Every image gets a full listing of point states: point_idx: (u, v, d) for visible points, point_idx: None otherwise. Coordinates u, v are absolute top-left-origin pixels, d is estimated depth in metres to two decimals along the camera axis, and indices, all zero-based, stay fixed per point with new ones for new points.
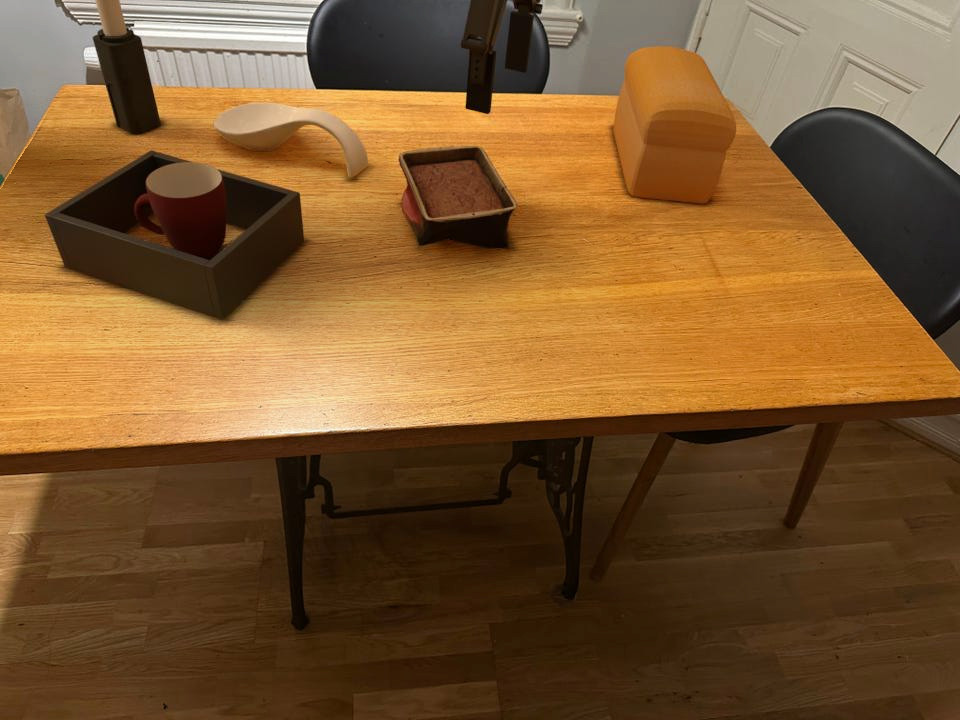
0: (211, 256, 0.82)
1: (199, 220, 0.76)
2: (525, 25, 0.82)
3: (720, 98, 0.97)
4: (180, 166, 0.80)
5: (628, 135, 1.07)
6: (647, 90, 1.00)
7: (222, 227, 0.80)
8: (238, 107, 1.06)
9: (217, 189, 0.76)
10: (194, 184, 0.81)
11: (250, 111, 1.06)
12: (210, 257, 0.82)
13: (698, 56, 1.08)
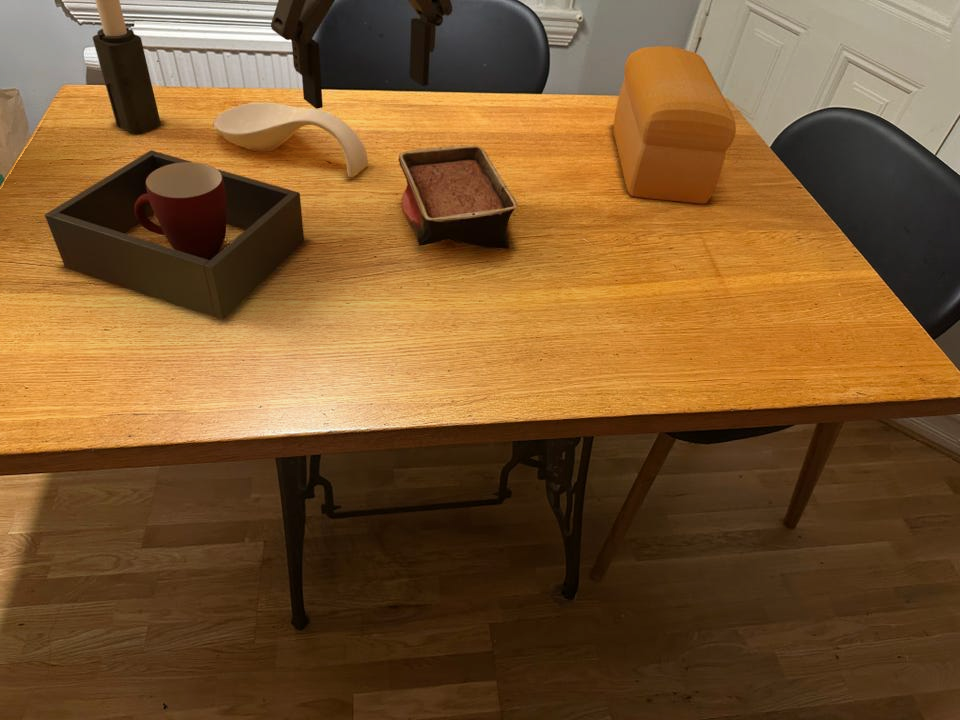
0: (211, 256, 0.82)
1: (199, 220, 0.76)
2: (421, 34, 0.76)
3: (720, 98, 0.97)
4: (180, 166, 0.80)
5: (628, 135, 1.07)
6: (646, 90, 1.00)
7: (222, 227, 0.80)
8: (238, 107, 1.06)
9: (217, 189, 0.76)
10: (194, 184, 0.81)
11: (250, 111, 1.06)
12: (210, 257, 0.82)
13: (698, 56, 1.08)
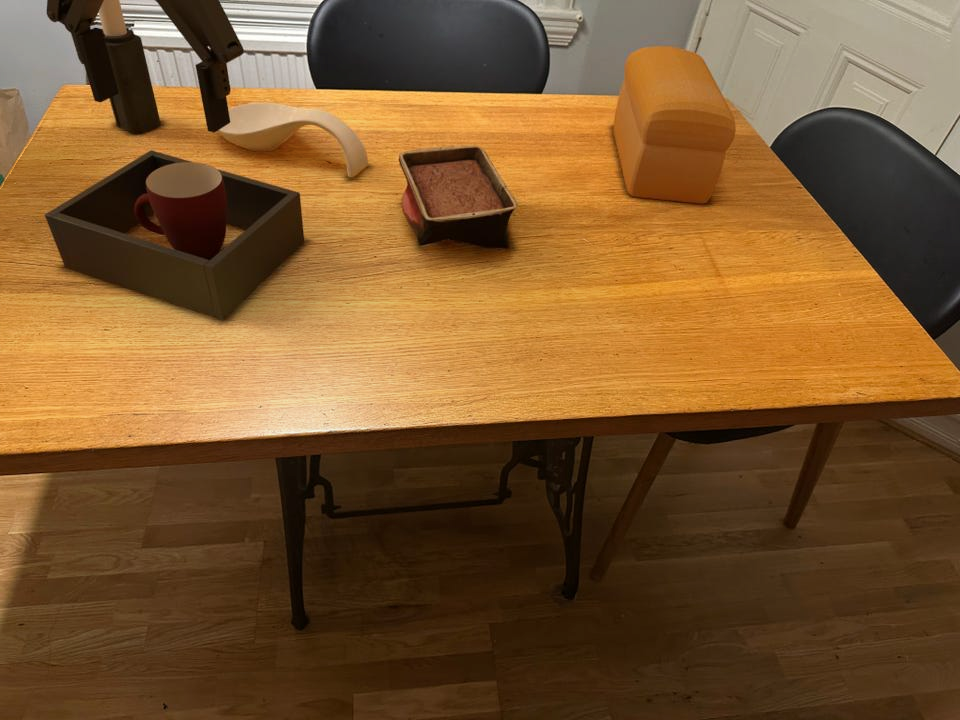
0: (211, 256, 0.82)
1: (199, 220, 0.76)
2: None
3: (719, 98, 0.97)
4: (180, 166, 0.80)
5: (628, 135, 1.07)
6: (646, 90, 1.00)
7: (222, 227, 0.80)
8: (238, 107, 1.06)
9: (217, 189, 0.76)
10: (194, 184, 0.81)
11: (250, 111, 1.06)
12: (210, 257, 0.82)
13: (698, 56, 1.08)
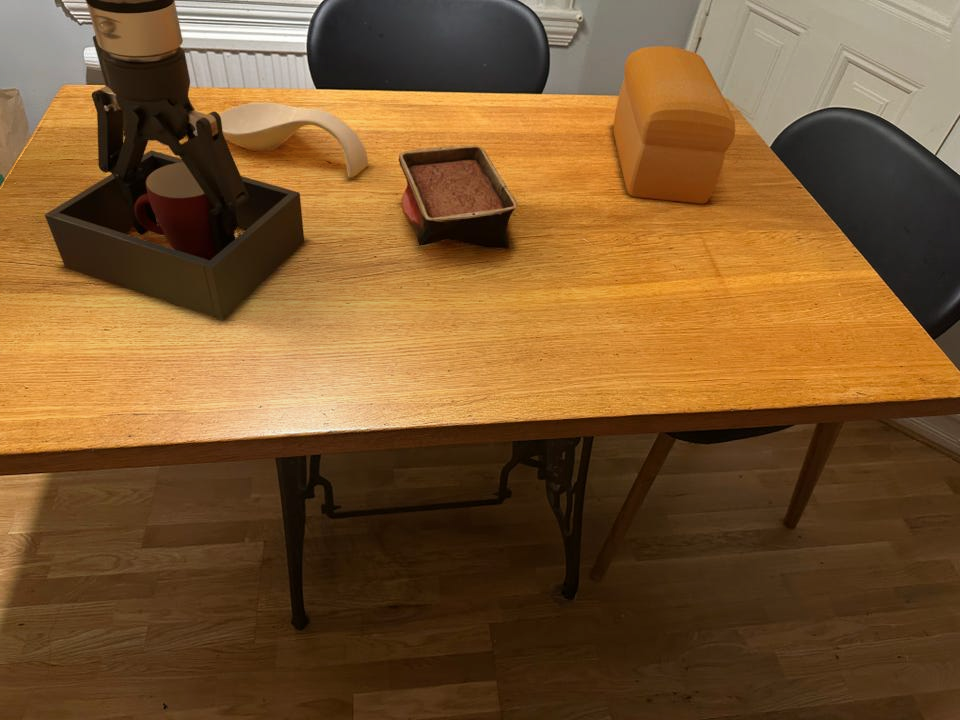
0: (211, 256, 0.82)
1: (199, 220, 0.76)
2: None
3: (719, 98, 0.97)
4: (180, 166, 0.80)
5: (627, 135, 1.07)
6: (646, 90, 1.00)
7: None
8: (238, 107, 1.06)
9: None
10: (194, 184, 0.81)
11: (250, 111, 1.06)
12: (210, 257, 0.82)
13: (698, 56, 1.08)
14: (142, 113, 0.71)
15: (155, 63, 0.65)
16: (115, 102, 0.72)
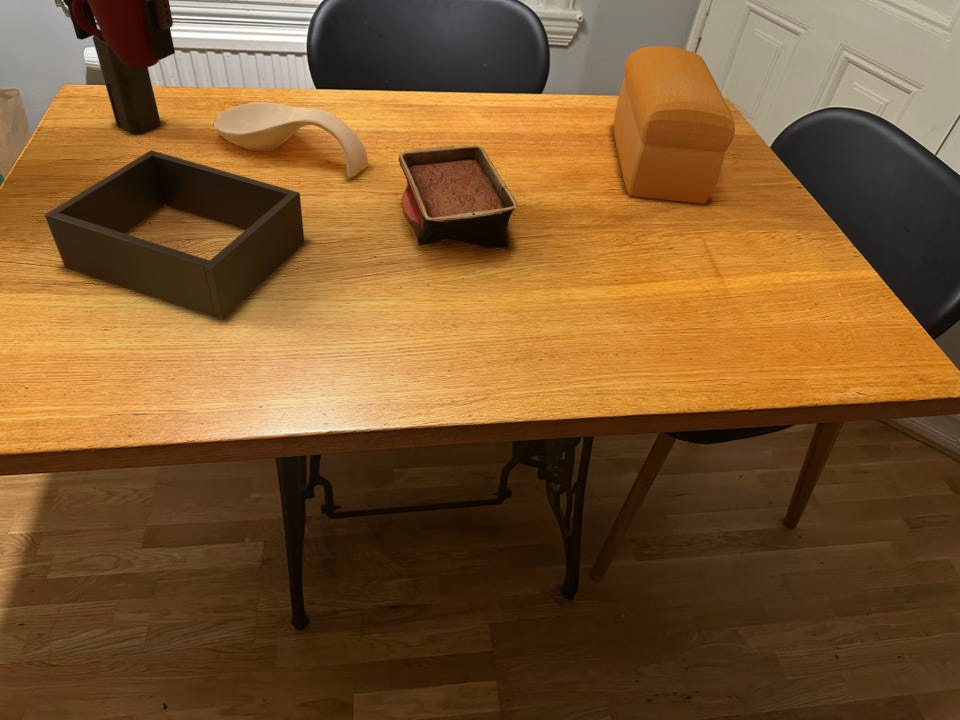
0: (149, 60, 0.83)
1: (133, 10, 0.78)
2: None
3: (719, 98, 0.97)
4: None
5: (627, 135, 1.07)
6: (645, 90, 1.00)
7: None
8: (238, 107, 1.06)
9: None
10: None
11: (250, 111, 1.06)
12: (148, 61, 0.83)
13: (698, 56, 1.08)
14: None
15: None
16: None
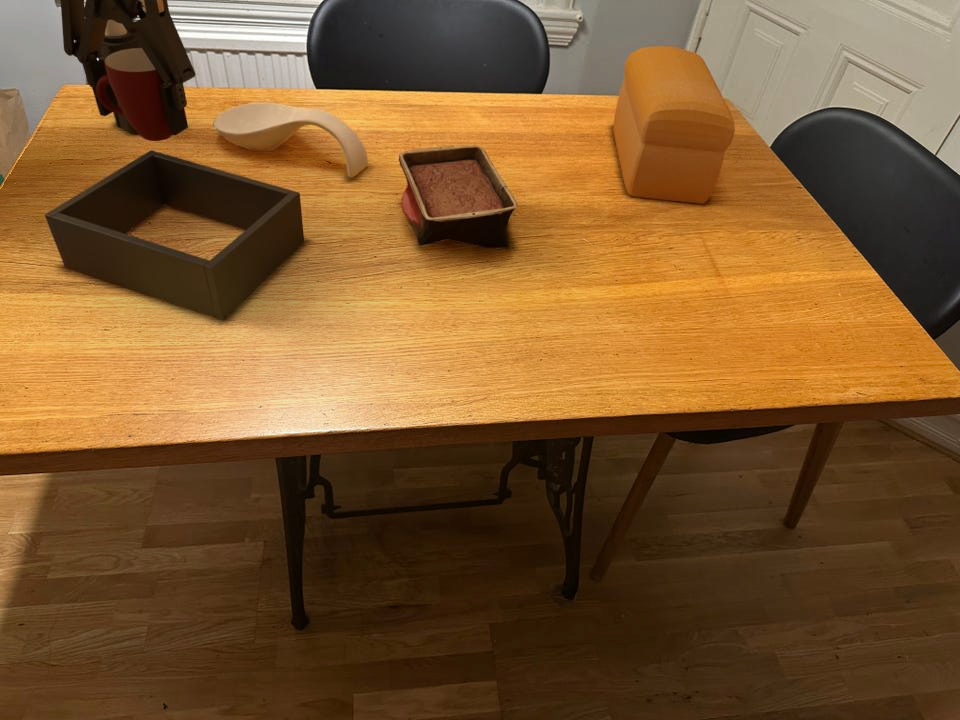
0: (165, 134, 0.92)
1: (152, 94, 0.87)
2: None
3: (719, 98, 0.97)
4: (137, 51, 0.90)
5: (627, 135, 1.07)
6: (645, 90, 1.00)
7: None
8: (238, 107, 1.06)
9: None
10: (150, 69, 0.92)
11: (250, 111, 1.06)
12: (164, 135, 0.92)
13: (698, 56, 1.08)
14: None
15: None
16: None
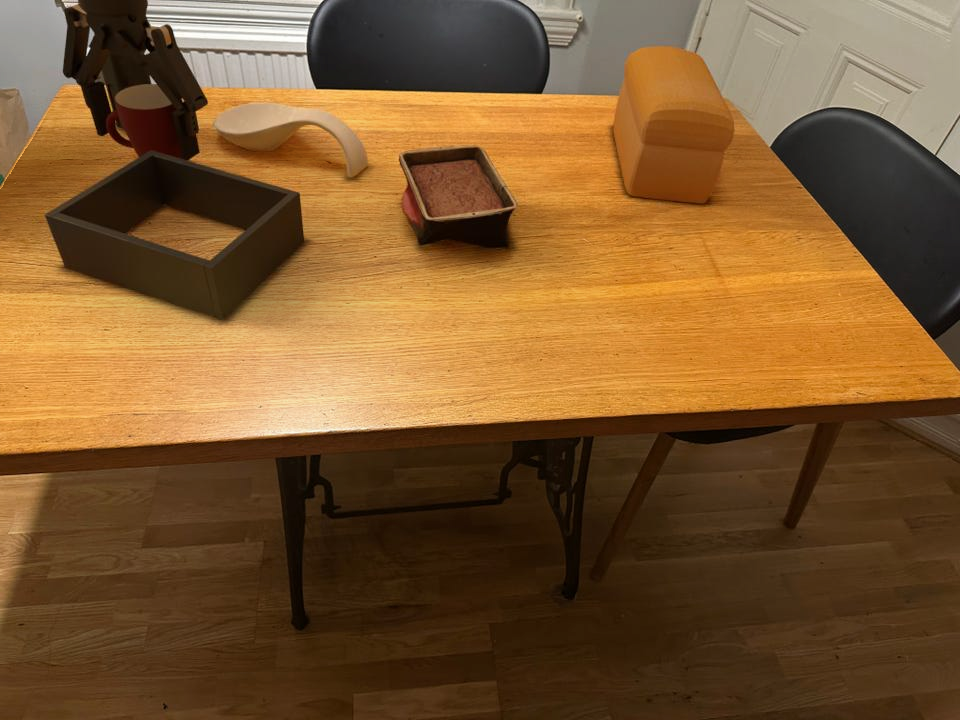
0: None
1: (160, 130, 0.90)
2: None
3: (718, 98, 0.97)
4: (146, 87, 0.93)
5: (627, 135, 1.07)
6: (645, 90, 1.00)
7: None
8: (238, 107, 1.06)
9: None
10: (158, 104, 0.95)
11: (250, 111, 1.06)
12: None
13: (698, 56, 1.08)
14: (108, 31, 0.84)
15: None
16: (84, 19, 0.85)
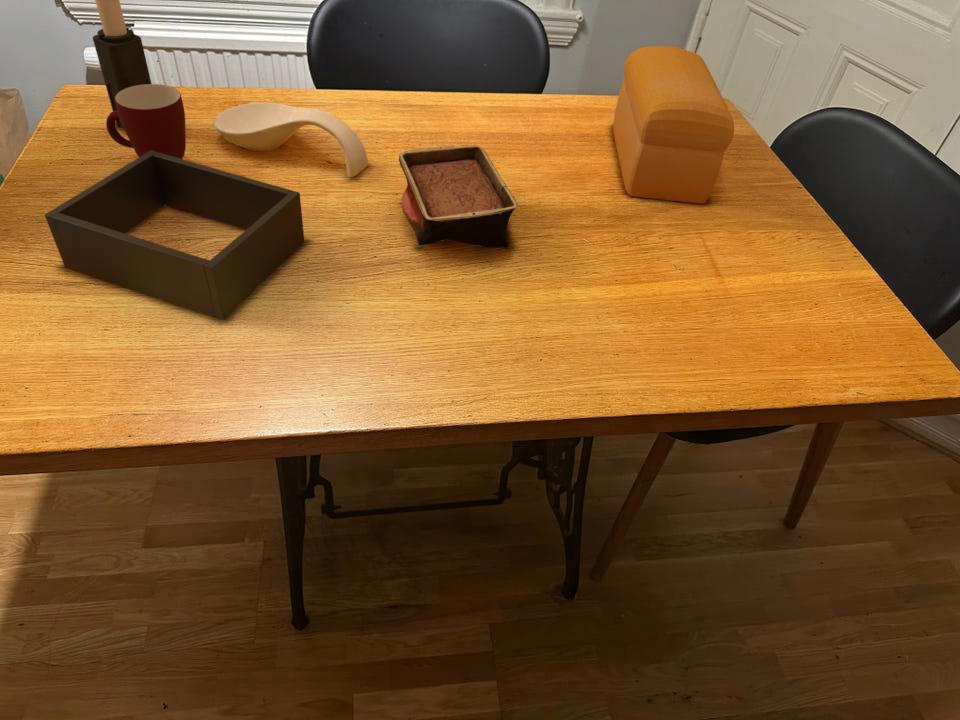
0: None
1: (160, 130, 0.90)
2: None
3: (718, 98, 0.97)
4: (146, 87, 0.93)
5: (627, 135, 1.07)
6: (645, 90, 1.00)
7: (181, 140, 0.94)
8: (238, 107, 1.06)
9: (176, 104, 0.90)
10: (158, 104, 0.95)
11: (250, 111, 1.06)
12: None
13: (697, 56, 1.08)
14: None
15: None
16: None
